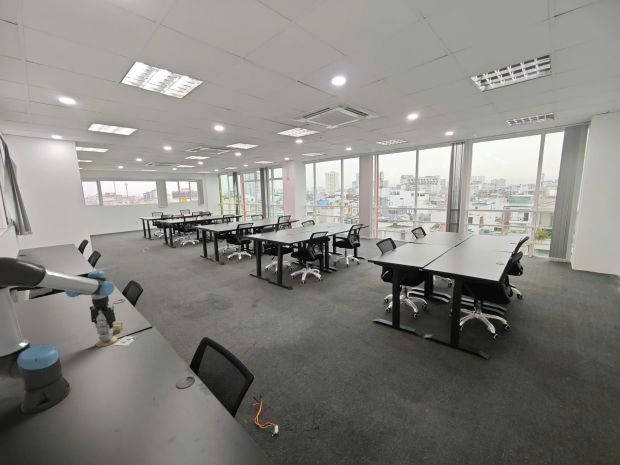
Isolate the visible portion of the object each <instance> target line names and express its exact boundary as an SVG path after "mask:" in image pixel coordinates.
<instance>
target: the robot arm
mask: <svg viewBox="0 0 620 465" xmlns="http://www.w3.org/2000/svg"><path fill="white" fill-rule="evenodd" d="M12 287H23V288H35V287H40V288H49V289H53V290H61V291H65V292H64V293H65V294H66V296H67V297H69V298H76V297H79V296H81V295H82V296H91V297H90V298H91V302H92V305H91V306H89V310H90V319H91V323H94V324H95V328H96V332H97V335H99V326H98V323H97V320H96V318H97V316H98V315H99V313H98V310H99V311H101V312H102V314H104V316H105V318H106V320H107V322H108V324H107V329H108V334H111V333H112V332H113V324H114V323H116V321H117V320H116V314H115V311H114V309H115V308H114V307H115V306H114V305H109V300H110V299H109V295H112V294H113V293H114V290H115V288H116V287H115V284H114V282H112V281H108V280H107V278H106V273H105V271H104V270H94V271H91V272H89V273H88V274H87V277H84V276H80V275H76V274H70V273H67V272H61V271H56V270H53V269H48V268H46V266H44V265H41V264H37V263H33V262H30V261H26V260H22V259H19V258H14V257H6V256H5V257H2V256H0V379H11V380H19V381H21V382H22V386H23V396H22V399H21V402H20V408H21V409H20V410H21V412H22V413H25V414H34V413H38V412H41V411H44V410H48V409H49V408H51V407H53V406H55V405H58V404H59V403H60V402H61V401H63V400H64V399H65V398H67V396H68V395H69V394H70V393H71V389H72V388H71V384H70V382H69V381H68V380H67V379H66V378H65V377H64V375H63V371H62V366H61V365H62V364H61V361H60V353H59V351H58V348H57V347H56V345H53V344H50V343H49V344H48V343H47V344H45V343H44V344H41V345H40V344H39V345H34V346H31V343H30V340H29V339H27V338H24V337H23V334H22V330H21V327H20V325H19V321H18V316H17V313H16V309H15V306H14V303H13V300H12V296H11V295H12V294H11V292H10V289H11V288H12ZM105 311H106V312H105Z"/></svg>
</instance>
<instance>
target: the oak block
mask: <svg viewBox="0 0 620 465" xmlns="http://www.w3.org/2000/svg"><path fill="white" fill-rule="evenodd" d="M123 330H124V322H123V321H118V322H113V332H112V333H113V335H114V334H121V333H122V331H123Z"/></svg>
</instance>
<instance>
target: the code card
mask: <svg viewBox="0 0 620 465" xmlns="http://www.w3.org/2000/svg"><path fill="white" fill-rule="evenodd" d="M133 337H134V336H124V337H122V338H120V340H118V341H116V342H114V343H113V346H123V347H124V346H125V347H126V346H129V345H130V344H133V342H134V341H135V340H133V339H132V338H133Z"/></svg>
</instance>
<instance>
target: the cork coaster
mask: <svg viewBox="0 0 620 465" xmlns="http://www.w3.org/2000/svg"><path fill="white" fill-rule="evenodd" d="M117 340H118V337H117V336H113V337H112V339H111V340H109V341H105V342H102V341H100V340H98V341H97V342H96V344H95V345H96V347H98V348H103V347H108V346H110V345H112V344H113V345H114V344H115V343H117V342H118V341H117Z"/></svg>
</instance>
